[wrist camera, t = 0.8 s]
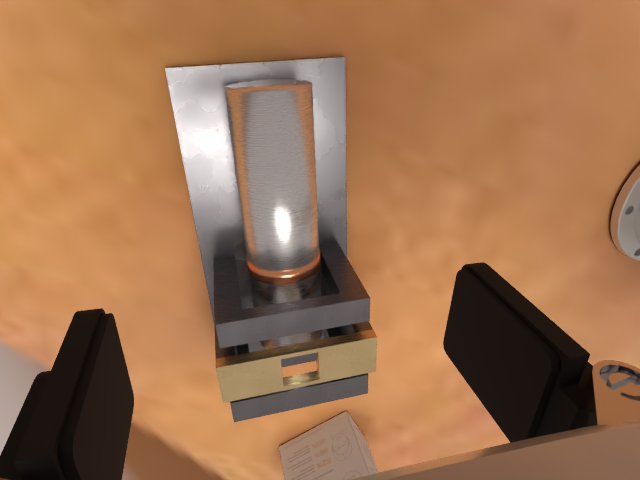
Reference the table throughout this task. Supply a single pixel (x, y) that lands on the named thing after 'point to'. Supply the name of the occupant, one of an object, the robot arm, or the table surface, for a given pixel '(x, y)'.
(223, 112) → the rail
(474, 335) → the robot arm
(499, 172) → the table surface
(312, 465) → the small box
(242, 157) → the tube
